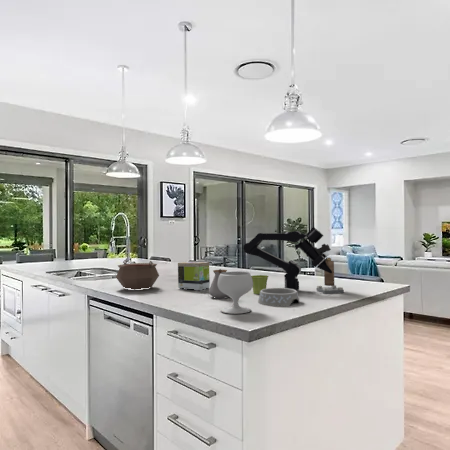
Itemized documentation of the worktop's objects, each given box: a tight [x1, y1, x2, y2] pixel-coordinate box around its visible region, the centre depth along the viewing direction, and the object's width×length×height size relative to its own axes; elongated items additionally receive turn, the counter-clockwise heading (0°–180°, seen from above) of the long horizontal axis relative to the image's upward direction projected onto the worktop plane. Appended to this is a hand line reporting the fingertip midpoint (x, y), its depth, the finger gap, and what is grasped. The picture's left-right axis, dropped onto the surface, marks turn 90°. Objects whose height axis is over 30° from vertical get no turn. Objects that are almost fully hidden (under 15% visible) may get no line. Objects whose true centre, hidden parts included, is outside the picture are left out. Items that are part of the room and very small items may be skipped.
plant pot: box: [251, 274, 269, 295], centre depth 190 cm, size 9×9×9 cm
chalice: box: [217, 271, 253, 315], centre depth 150 cm, size 14×14×15 cm
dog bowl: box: [257, 287, 301, 307], centre depth 166 cm, size 17×18×5 cm
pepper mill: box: [323, 257, 335, 287], centre depth 190 cm, size 5×5×14 cm
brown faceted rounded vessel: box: [115, 259, 160, 289], centre depth 214 cm, size 24×24×16 cm
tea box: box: [177, 261, 211, 291], centre depth 210 cm, size 15×10×15 cm
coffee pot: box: [208, 268, 230, 299], centre depth 177 cm, size 21×12×15 cm, turn 0°
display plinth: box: [316, 284, 345, 295], centre depth 190 cm, size 10×10×2 cm
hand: (332, 272), depth 190 cm, fingers closed on pepper mill, 5 cm apart
